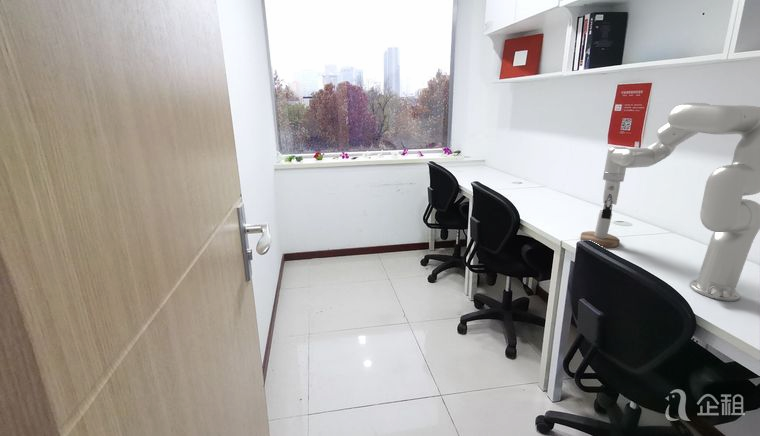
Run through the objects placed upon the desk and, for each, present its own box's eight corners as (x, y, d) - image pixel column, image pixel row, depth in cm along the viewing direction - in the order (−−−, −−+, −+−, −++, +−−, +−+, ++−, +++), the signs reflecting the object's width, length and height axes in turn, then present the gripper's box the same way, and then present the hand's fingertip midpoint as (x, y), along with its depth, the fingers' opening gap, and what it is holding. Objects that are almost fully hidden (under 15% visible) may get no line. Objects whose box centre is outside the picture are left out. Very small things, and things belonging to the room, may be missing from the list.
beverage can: (603, 235, 166) (609, 210, 162) (608, 239, 162) (614, 213, 158) (592, 235, 167) (597, 209, 163) (597, 239, 162) (602, 213, 158)
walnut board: (618, 250, 155) (619, 246, 155) (578, 242, 163) (579, 238, 162) (619, 239, 167) (620, 235, 167) (581, 233, 175) (582, 229, 174)
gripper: (624, 180, 147) (615, 222, 152) (624, 174, 161) (616, 212, 166) (602, 178, 151) (594, 219, 156) (604, 173, 165) (597, 210, 170)
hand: (606, 215), depth 161 cm, fingers open, 9 cm apart
